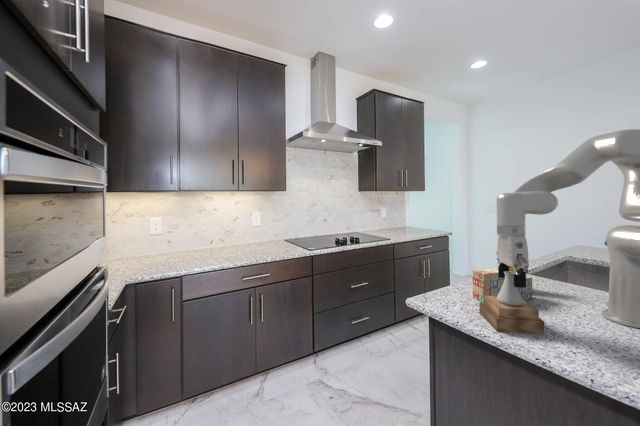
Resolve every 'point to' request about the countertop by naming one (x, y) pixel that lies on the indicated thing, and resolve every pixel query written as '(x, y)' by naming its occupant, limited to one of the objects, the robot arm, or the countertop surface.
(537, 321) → the stepped wooden pedestal
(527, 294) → the stack of blocks
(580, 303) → the countertop surface
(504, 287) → the flask
